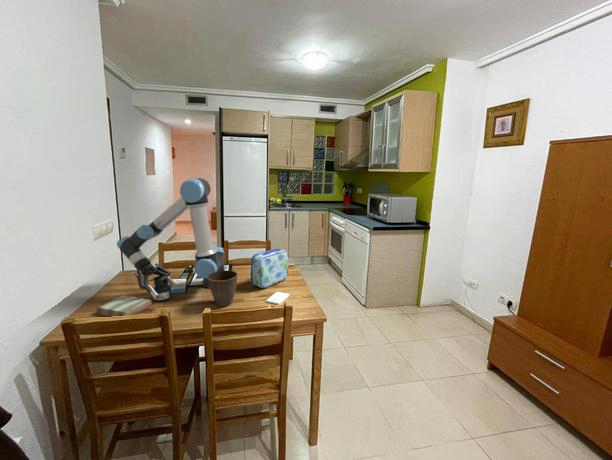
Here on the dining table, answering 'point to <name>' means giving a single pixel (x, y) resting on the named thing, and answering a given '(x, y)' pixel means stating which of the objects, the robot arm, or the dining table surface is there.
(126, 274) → the dining table surface
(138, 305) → the mat platform
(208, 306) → the dining table surface
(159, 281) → the ink bottle
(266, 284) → the lunch box
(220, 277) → the plant pot
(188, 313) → the dining table surface
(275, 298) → the external hard drive
